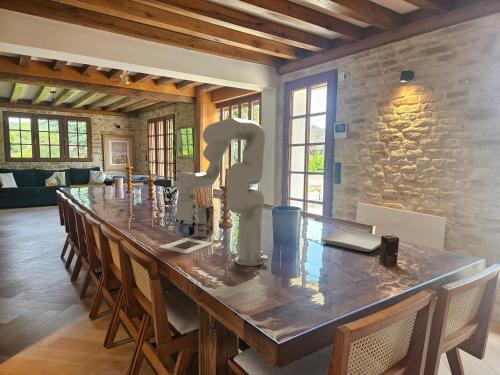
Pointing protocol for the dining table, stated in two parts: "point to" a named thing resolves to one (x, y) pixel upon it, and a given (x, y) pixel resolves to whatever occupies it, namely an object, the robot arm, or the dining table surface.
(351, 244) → the square plate
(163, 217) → the dining table surface
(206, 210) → the coffee box
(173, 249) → the card
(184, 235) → the blue cube
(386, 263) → the box
